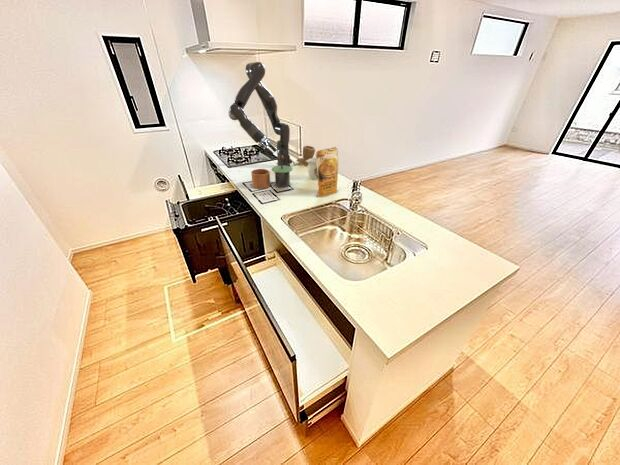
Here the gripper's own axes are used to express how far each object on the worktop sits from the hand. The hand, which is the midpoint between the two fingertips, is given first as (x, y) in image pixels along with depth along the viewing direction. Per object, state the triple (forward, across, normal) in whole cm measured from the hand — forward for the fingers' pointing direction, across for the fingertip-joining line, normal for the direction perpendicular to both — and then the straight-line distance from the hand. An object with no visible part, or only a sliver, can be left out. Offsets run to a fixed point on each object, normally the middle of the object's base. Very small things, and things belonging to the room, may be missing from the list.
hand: (274, 152), depth 165 cm
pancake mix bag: (+40, -10, -10) cm, 43 cm away
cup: (+18, 0, +12) cm, 22 cm away
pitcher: (+34, +17, -3) cm, 38 cm away
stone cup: (+26, +47, +5) cm, 54 cm away
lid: (+11, 0, +4) cm, 12 cm away
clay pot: (+9, -4, +22) cm, 23 cm away
